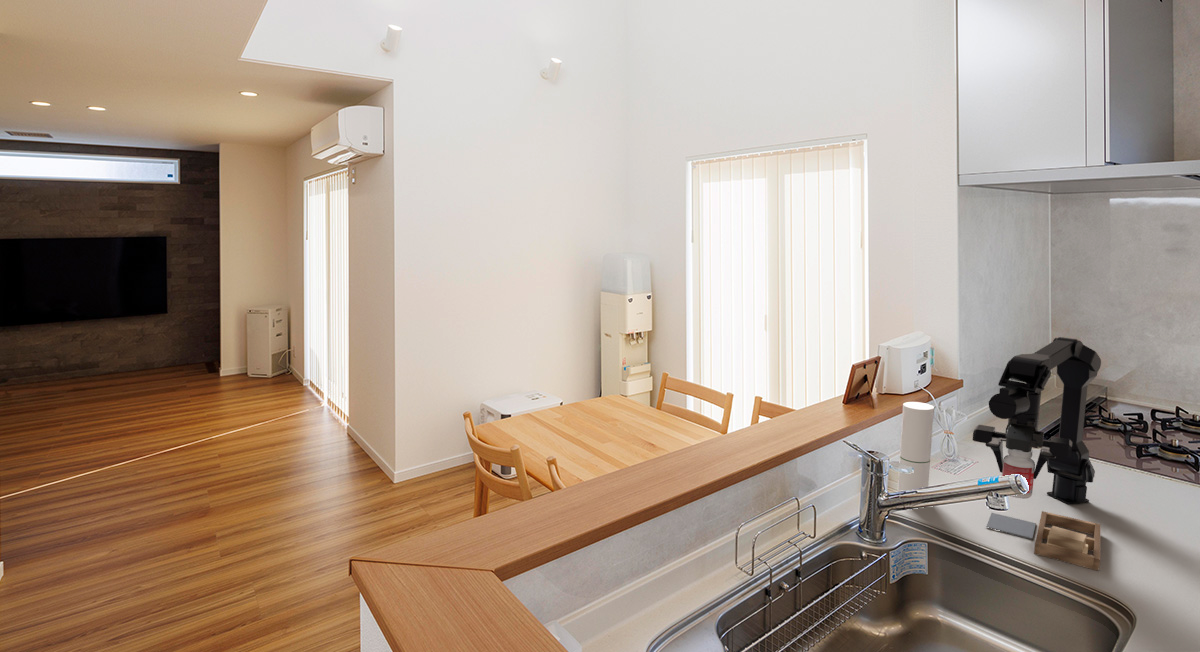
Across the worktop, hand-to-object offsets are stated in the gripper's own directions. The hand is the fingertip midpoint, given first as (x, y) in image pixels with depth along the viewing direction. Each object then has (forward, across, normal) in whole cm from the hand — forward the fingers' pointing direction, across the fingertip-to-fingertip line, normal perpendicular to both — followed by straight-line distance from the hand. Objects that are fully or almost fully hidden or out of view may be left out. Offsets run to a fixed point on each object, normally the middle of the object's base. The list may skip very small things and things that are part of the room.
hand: (1017, 475), depth 143 cm
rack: (+13, +10, -2) cm, 17 cm away
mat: (+13, 0, 0) cm, 13 cm away
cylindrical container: (+13, -23, +4) cm, 26 cm away
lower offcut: (+13, +10, -7) cm, 18 cm away
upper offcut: (+11, +10, -7) cm, 16 cm away
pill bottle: (+5, 0, 0) cm, 5 cm away
